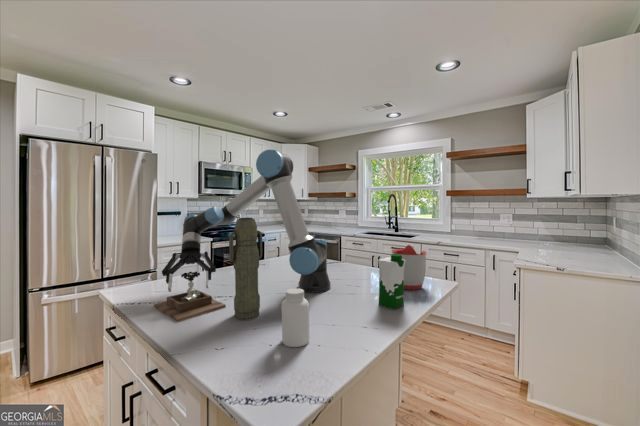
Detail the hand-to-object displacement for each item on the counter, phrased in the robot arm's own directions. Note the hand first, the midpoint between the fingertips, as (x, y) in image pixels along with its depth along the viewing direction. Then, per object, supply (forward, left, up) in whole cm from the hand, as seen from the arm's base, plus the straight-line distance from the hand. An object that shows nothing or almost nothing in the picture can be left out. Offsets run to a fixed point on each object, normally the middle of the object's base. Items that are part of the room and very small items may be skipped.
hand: (188, 288), depth 115 cm
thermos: (-26, -9, -7) cm, 29 cm away
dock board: (-2, +1, -6) cm, 7 cm away
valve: (-3, 0, -6) cm, 6 cm away
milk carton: (-60, -52, -7) cm, 80 cm away
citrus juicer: (-55, -80, -7) cm, 98 cm away
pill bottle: (-53, -7, -7) cm, 54 cm away
